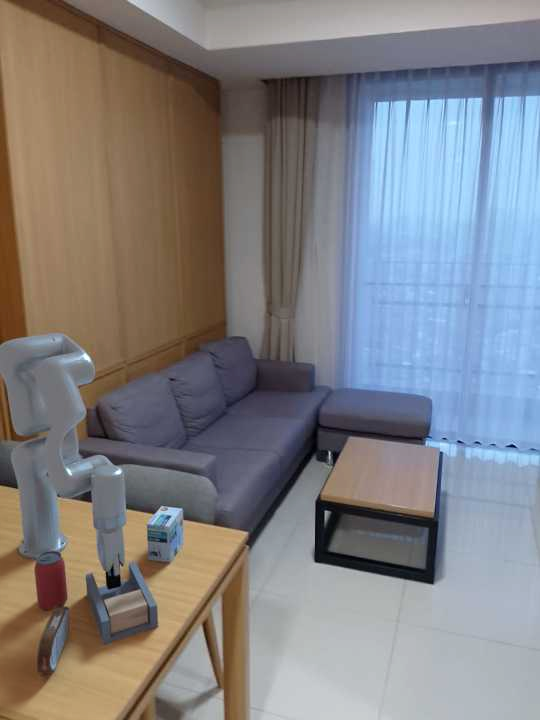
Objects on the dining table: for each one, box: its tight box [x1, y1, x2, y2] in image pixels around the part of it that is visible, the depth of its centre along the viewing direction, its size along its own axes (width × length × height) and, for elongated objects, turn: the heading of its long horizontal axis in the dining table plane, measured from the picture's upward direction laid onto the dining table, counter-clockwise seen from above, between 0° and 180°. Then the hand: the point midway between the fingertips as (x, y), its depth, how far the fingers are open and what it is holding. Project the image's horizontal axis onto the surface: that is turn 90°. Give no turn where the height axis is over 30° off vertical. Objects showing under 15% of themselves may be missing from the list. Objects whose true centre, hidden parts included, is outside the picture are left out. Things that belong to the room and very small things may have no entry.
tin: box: [36, 605, 70, 674], centre depth 116 cm, size 15×3×8 cm, turn 5°
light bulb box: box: [146, 505, 185, 563], centre depth 153 cm, size 11×7×11 cm, turn 168°
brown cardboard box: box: [104, 590, 148, 634], centre depth 125 cm, size 6×8×4 cm
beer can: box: [33, 551, 68, 611], centre depth 132 cm, size 7×7×12 cm
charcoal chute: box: [85, 561, 159, 645], centre depth 130 cm, size 19×12×6 cm, turn 28°
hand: (113, 586), depth 135 cm, fingers closed
